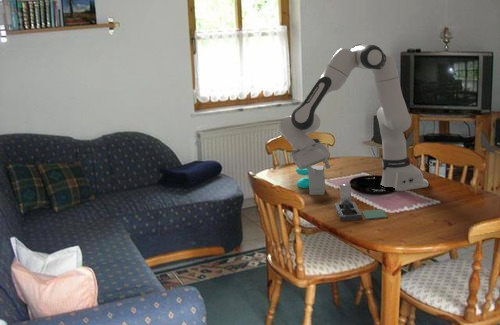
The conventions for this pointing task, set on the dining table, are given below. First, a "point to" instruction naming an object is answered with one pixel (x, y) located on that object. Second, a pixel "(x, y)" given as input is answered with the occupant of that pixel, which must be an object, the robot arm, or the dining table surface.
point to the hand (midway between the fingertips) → (322, 170)
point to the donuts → (304, 181)
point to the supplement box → (317, 181)
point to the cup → (345, 195)
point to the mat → (374, 214)
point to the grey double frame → (348, 212)
